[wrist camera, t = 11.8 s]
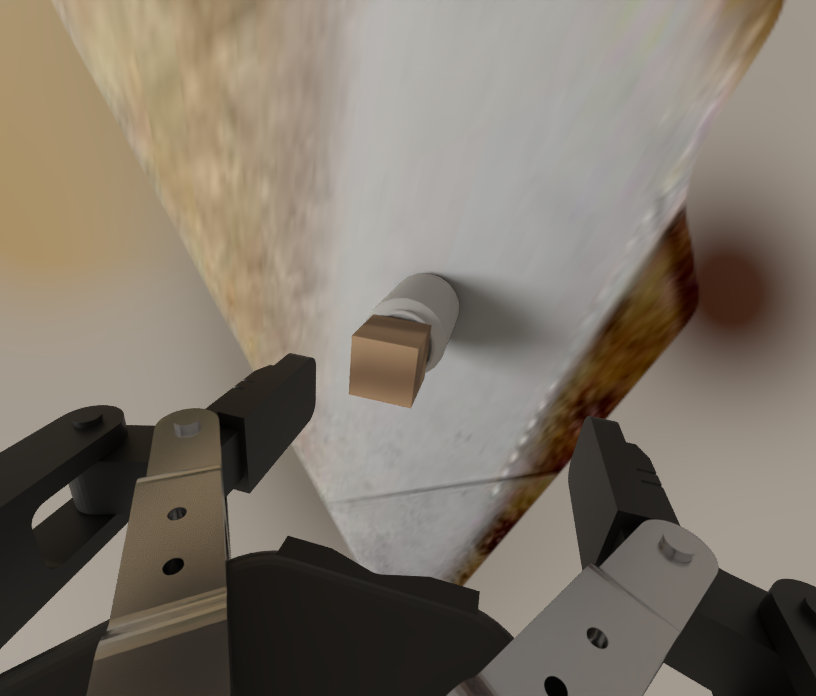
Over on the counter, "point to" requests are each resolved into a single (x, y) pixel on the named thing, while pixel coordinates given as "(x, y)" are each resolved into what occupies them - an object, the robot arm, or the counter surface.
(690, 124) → the counter surface
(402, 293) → the can
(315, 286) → the counter surface
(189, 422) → the robot arm
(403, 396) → the block
